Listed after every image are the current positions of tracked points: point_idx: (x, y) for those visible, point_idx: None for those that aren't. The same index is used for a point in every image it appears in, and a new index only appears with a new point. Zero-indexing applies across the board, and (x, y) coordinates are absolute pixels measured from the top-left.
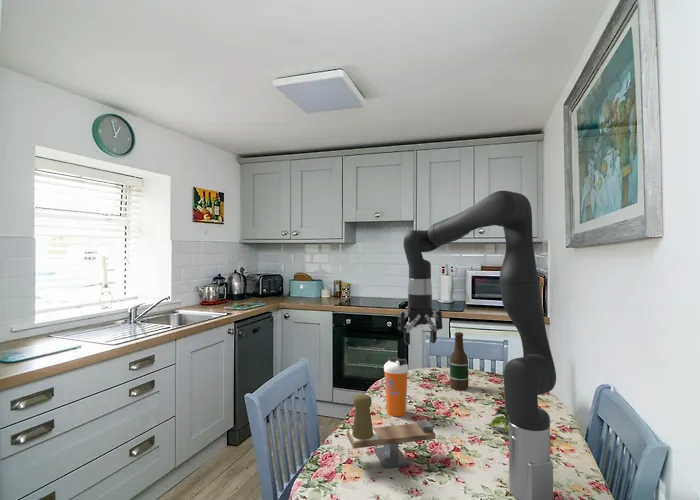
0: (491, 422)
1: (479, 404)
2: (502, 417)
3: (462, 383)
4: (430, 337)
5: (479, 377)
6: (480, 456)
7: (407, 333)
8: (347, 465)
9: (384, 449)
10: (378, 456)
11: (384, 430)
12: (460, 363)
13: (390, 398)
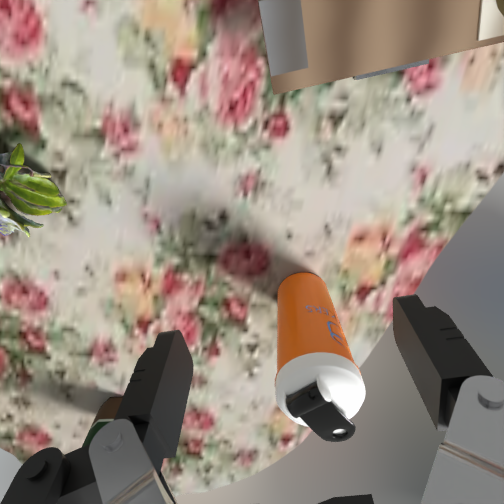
0: (58, 202)
1: (84, 328)
2: (15, 192)
3: (110, 411)
4: (186, 393)
5: (69, 451)
6: (117, 21)
7: (465, 378)
8: None
9: None
10: None
11: (438, 19)
12: None
13: (329, 304)
